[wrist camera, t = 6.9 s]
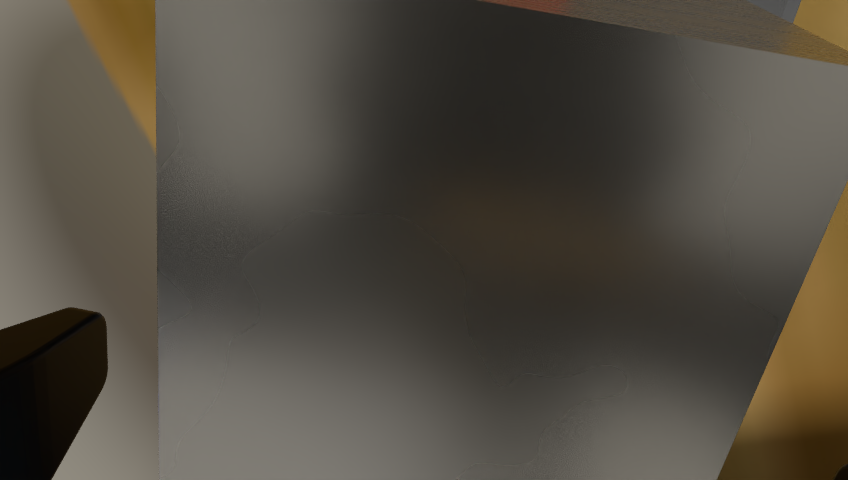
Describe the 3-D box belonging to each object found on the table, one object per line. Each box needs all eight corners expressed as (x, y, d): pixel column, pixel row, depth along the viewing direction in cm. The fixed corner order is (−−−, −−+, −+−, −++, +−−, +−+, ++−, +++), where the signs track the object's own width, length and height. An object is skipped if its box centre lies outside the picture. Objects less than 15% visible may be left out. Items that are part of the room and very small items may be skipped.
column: (576, 148, 16) (677, 602, 6) (380, 112, 16) (147, 493, 6) (631, -65, 14) (919, 60, 4) (409, -104, 14) (136, -80, 4)
